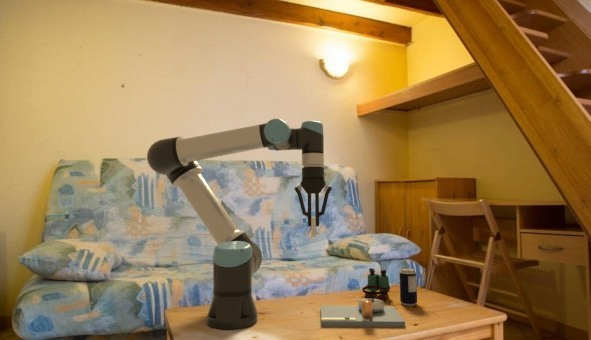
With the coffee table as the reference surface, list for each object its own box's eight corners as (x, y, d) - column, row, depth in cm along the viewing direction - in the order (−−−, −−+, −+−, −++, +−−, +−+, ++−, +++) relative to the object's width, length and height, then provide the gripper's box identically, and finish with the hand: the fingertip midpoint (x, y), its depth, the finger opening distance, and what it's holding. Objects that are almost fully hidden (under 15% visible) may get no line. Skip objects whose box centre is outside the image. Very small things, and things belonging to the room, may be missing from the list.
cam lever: (360, 305, 127) (360, 289, 127) (385, 306, 124) (384, 291, 125) (352, 319, 112) (352, 301, 112) (380, 321, 110) (380, 303, 110)
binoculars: (358, 273, 140) (368, 266, 148) (360, 302, 140) (370, 293, 148) (382, 276, 135) (391, 268, 143) (384, 305, 135) (393, 296, 143)
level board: (321, 326, 111) (321, 319, 111) (320, 310, 127) (320, 303, 127) (405, 326, 110) (405, 319, 110) (393, 310, 126) (393, 304, 126)
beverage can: (415, 302, 136) (414, 268, 137) (418, 306, 131) (417, 270, 132) (399, 301, 137) (398, 267, 138) (401, 306, 131) (400, 270, 132)
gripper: (331, 167, 134) (332, 235, 133) (294, 167, 135) (294, 235, 133) (332, 165, 127) (333, 237, 125) (293, 166, 127) (293, 237, 126)
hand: (313, 236), depth 129 cm, fingers closed
